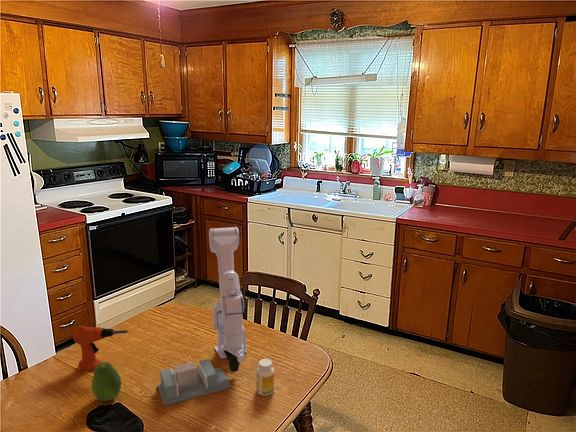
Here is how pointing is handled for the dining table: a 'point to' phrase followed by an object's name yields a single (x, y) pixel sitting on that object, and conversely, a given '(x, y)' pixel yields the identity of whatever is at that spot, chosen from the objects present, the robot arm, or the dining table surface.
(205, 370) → the block
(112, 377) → the avocado
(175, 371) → the steel block
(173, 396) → the base
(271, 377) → the supplement bottle
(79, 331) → the toy drill
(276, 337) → the dining table surface
